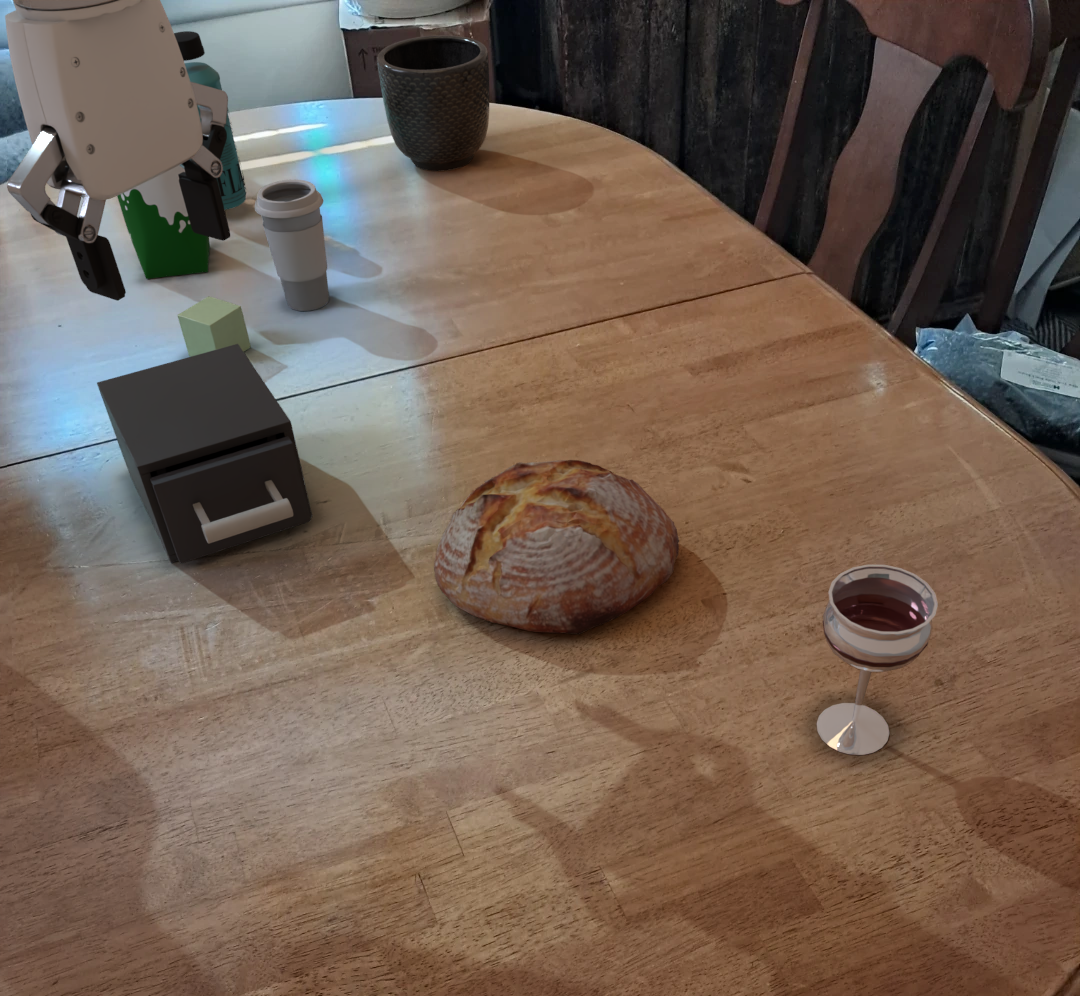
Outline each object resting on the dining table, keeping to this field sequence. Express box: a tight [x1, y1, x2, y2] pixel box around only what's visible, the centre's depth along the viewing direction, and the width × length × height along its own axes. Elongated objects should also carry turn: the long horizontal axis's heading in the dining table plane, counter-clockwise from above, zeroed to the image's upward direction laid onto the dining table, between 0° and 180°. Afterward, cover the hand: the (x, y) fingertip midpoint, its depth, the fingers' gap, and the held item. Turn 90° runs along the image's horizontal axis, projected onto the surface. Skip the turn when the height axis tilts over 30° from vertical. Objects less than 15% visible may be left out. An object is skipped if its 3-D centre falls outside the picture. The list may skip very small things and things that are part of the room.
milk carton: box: [116, 165, 211, 280], centre depth 128 cm, size 9×9×20 cm
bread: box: [433, 459, 680, 635], centre depth 90 cm, size 16×20×10 cm
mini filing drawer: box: [150, 435, 311, 564], centre depth 97 cm, size 18×11×8 cm, turn 27°
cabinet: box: [96, 344, 313, 564], centre depth 99 cm, size 15×13×10 cm
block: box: [177, 295, 252, 357], centre depth 119 cm, size 5×5×5 cm
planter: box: [376, 34, 490, 172], centre depth 149 cm, size 14×14×13 cm
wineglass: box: [816, 564, 939, 756], centre depth 76 cm, size 7×7×12 cm
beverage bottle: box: [174, 30, 248, 211], centre depth 137 cm, size 6×7×20 cm
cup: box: [254, 179, 330, 312], centre depth 123 cm, size 7×7×12 cm
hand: (161, 264), depth 78 cm, fingers open, 9 cm apart
